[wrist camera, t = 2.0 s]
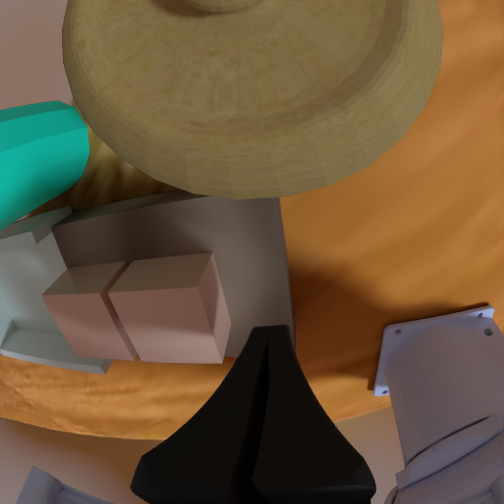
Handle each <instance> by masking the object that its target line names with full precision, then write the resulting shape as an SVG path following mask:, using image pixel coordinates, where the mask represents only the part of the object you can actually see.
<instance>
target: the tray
mask: <svg viewBox="0 0 504 504" xmlns="http://www.w3.org/2000/svg"><path fill="white" fill-rule="evenodd" d="M71 213H72V210H71V207H70V206H66V207H62V208H59V209H55V210H52V211H48V212H45V213H42V214H38V215H35V216H32V217H29V218H26V219H22V220H19V221H16V222H14V223H12V224H11V225H9V226H8V227H6V228H5V229H3V230H2V231H0V354H1V355H5V356H8V357H12V358H17V359H21V360H25V361H30V362H34V363H39V364H44V365H49V366H54V367H59V368H65V369H71V370H77V371H83V372H90V373H97V374H106V372H107V370H108V369H109V367H110V365H111V363H112V361H113V359H102V358H92V357H83V356H76V355H75V354H74V352H73V350H72V349H71V347H70V346H69V344H68V342H67V341H66V339H65V338H64V336H63V334H62V333H61V331H60V329H59V327H58V326H57V324H56V322H55V320H54V319H53V317H52V315H51V313H50V311H49V309H48V308H47V306H46V304H45V302H44V300H43V298H42V296H41V295H42V294H43V293H44V292H45V291H46V290H47V289H48V288H49V287H50V286H51V285H52V284H53V283H54V282H55V281H56V280H57V279H58V278H59V277H60V276H61V275H62V274H63V273H64V272H65V271H66V270H67V267H66V265H65V263H64V260H63V258H62V255H61V253H60V251H59V248H58V246H57V243H56V240H55V238H54V235H53V233H52V230H51V227H52V226H53V225H55V224H56V223H58V222H59V221H61V220H62V219H63V218H65V217H66V216H68V215H69V214H71Z"/></svg>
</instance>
